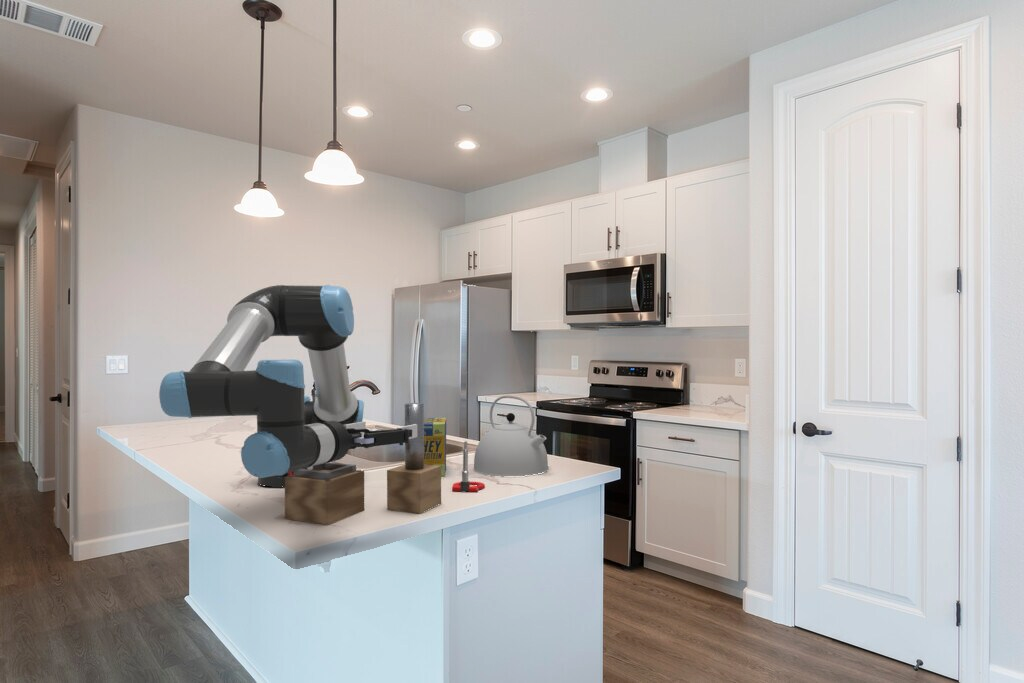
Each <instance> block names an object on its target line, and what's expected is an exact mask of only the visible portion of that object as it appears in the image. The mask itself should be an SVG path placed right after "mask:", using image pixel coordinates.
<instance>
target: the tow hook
mask: <svg viewBox="0 0 1024 683" xmlns="http://www.w3.org/2000/svg"><path fill="white" fill-rule="evenodd" d="M463 444H464V446H463V453H462V456H463V457H462V462H463V463H462V467H463V468H462V471H461V481H458V482H454V483H453V484H452V488H451V490H452V492H461V491H466V492H465V493H469V492H468V491H471V492H470V493H478V492H479V490H482V489H483V490H484V488H485V487H486V486H485V485H486V484H485V483H483V482H480V481H469V471H468V469H469V468H468V467H469V466H468V462H469V449H468V441H467V440H465V441H464V442H463ZM475 485H477V486H475ZM477 491H478V492H477Z"/></svg>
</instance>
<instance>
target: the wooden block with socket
mask: <svg viewBox="0 0 1024 683" xmlns="http://www.w3.org/2000/svg"><path fill="white" fill-rule="evenodd" d="M363 511H365V471H364V470H361V469H360V470H358V469H357V465H356V464H349V463H340V462H339V463H338V462H328V463H323V464H319V465H314V466H313V469H311V470H308V469H307V468H303V469H300V470H296V471H294V475H291V476H287V477H285V487H284V519H286V518H287V520H292V519H294V521H299V520H301V522H305V521H307V522H308V523H312V522H314V523H313V524H319V523H322V524H321V525H325V524H326V525H327V526H328V525H331V524H333V523H336V522H339V521H341V520H344V519H346V518H348V517H351V516H354V515H356V514H359V513H361V512H363Z"/></svg>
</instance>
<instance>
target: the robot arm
mask: <svg viewBox="0 0 1024 683" xmlns="http://www.w3.org/2000/svg"><path fill="white" fill-rule="evenodd" d="M226 322H227V323H226V324H225V325H224V327H223V328H222V329H221V331H220V332H219V333H218V335H216V337H215V338H214V339H213V341H212V342H211V344H210V345H209V346H208V347H207V349H206V350H205V351H204V352H203V353H202V355H201V356H200V358H199V359H198V360H197V361H196V363H195V364H194V365H193V366H192V367H191V368H190V370H189V371H184V370H180V371H175V372H174V371H173V372H169V373H167V374H166V375H164V377H163V379H162V380H161V382H160V386H159V392H158V395H159V396H158V397H159V398H158V399H159V404H160V408H161V409H162V412H163V413H164V414H165V415H167V416H168V417H173V418H174V417H176V418H177V417H179V418H180V417H182V418H189V419H192V418H205V417H211V418H212V417H238V416H239V417H240V416H241V417H242V416H244V417H245V416H256V432H254V433H252V434H250V435H249V436H247V438H246V439H245V440H244V441H243V446H242V447H241V451H240V458H241V461H242V462H241V463H242V465H243V467H244V469H245V470H246V471H247V473H248V474H250V475H251V476H253V477H255V478H257V480H258V482H257V484H258V483H259V484H261V485H265V486H274V487H273V488H285V477H287V476H288V473H289V472H292V471H296V470H300V469H303V468H307V469H308V470H311V469H313V466H314V465H319V464H323V463H328V462H331V463H333V462H336V461H339V460H341V459H343V458H344V457H345V456H346V455H347V454H348V452H349V450H355V449H356V448H364V449H369V448H374V447H381V446H387V445H388V446H390V445H397V444H398V445H399V446H403V445H404V444H405V443H408V442H409V439H412V438H416V437H417V424H413V425H408V426H405V425H403V426H399V427H396V428H395V429H379V430H376V429H375V430H369V428H367V427H366V421H363V419H364V418H363V417H364V407H365V402H364V401H363V400H362V399H361V400H360V399H358V398H357V397H356V395H355V394H354V393H353V392H352V391H351V387H350V380H349V371H348V365H347V357H346V352H345V351H346V350H345V343H346V341H347V339H348V337H349V336H351V335H352V334H353V332H354V329H355V328H354V327H355V316H354V307H353V301H352V299H351V296H350V293H349V292H348V290H347V289H346V288H344V287H342V286H341V285H340V286H337V285H329V284H325V285H284V284H282V285H281V284H277V285H270V286H267V287H264V288H261V289H259V290H256V291H254V292H252V293H249V294H248V295H247V296H245V297H244V298H242V299H240V300H239V301H238V302H237V303H236V304H234V306H233V307H232V308H231V310H230V311H229V313H228V315H227V318H226ZM282 336H283V337H297V338H298V342H299V343H300V344H301V346H302V347H304V348H305V349H306V350H307V353H308V357H309V362H310V367H311V374H312V377H313V382H314V388H315V392H316V396H317V397H316V398H315V401H311V398H310V396H308V395H305V390H306V384H305V374H304V372H305V370H304V365H303V362H301V361H300V360H299V359H261V360H259V361H258V362H257V363H256V365H257V366H256V369H253V370H245V369H246V368H247V367H248V364H249V363H250V361H251V360H252V358H253V357H254V355H255V354H256V351H257V350H258V349H259V346H260V345H261V343H264V342H266V341H268V340H269V339H270V338H271V337H282ZM259 484H258V485H259ZM282 486H283V487H282Z"/></svg>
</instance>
